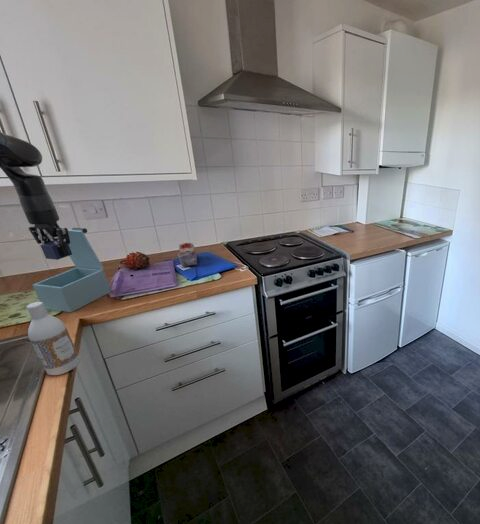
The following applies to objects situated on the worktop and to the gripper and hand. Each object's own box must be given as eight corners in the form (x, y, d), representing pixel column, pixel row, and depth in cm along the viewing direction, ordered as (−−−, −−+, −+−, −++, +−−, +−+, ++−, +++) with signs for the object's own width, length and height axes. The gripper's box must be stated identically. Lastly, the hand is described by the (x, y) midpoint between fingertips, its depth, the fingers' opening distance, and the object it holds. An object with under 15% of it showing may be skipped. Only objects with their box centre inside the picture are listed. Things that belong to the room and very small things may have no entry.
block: (57, 259, 103) (51, 246, 101) (46, 258, 104) (40, 245, 102) (72, 254, 107) (67, 241, 105) (61, 253, 108) (56, 240, 106)
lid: (80, 231, 108) (92, 225, 112) (52, 229, 110) (65, 223, 114) (102, 269, 117) (112, 262, 121) (75, 266, 119) (87, 259, 123)
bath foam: (60, 378, 78) (28, 313, 70) (40, 373, 80) (6, 309, 72) (87, 360, 84) (60, 299, 77) (68, 356, 86) (39, 295, 78)
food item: (199, 265, 145) (195, 246, 141) (181, 269, 141) (176, 249, 137) (196, 256, 156) (192, 238, 152) (179, 259, 152) (174, 241, 148)
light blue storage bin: (71, 312, 107) (60, 288, 103) (43, 308, 109) (32, 284, 105) (111, 291, 121) (103, 269, 117) (85, 288, 123) (77, 267, 119)
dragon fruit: (154, 269, 144) (126, 276, 141) (153, 255, 148) (126, 261, 145) (145, 261, 136) (115, 267, 134) (144, 246, 140) (116, 252, 138)
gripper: (8, 209, 96) (30, 257, 103) (43, 211, 94) (63, 261, 100) (35, 204, 103) (54, 250, 110) (68, 206, 100) (86, 253, 107)
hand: (58, 255), depth 105 cm, fingers closed on block, 5 cm apart
